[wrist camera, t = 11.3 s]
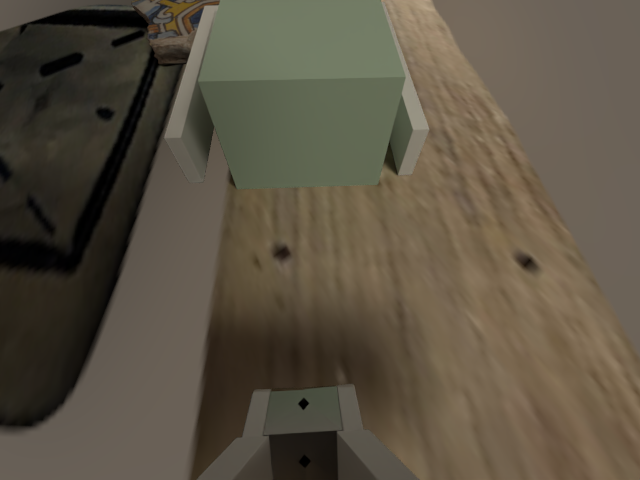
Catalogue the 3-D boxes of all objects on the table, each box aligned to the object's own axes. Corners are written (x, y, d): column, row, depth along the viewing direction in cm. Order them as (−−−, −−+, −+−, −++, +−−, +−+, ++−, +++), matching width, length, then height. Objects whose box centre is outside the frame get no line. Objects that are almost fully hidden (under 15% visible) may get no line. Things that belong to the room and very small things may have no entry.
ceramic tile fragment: (107, -7, 30) (200, -31, 33) (126, 29, 32) (209, 4, 35) (153, 48, 25) (256, 13, 28) (170, 84, 28) (262, 50, 31)
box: (189, 183, 21) (163, 138, 18) (217, 53, 30) (204, 5, 26) (411, 174, 22) (429, 129, 18) (376, 49, 30) (384, 2, 27)
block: (237, 190, 21) (197, 81, 14) (249, 88, 27) (226, -24, 20) (377, 186, 21) (405, 77, 14) (358, 85, 27) (372, -25, 20)
